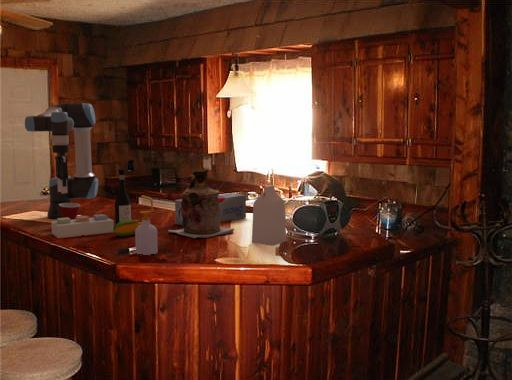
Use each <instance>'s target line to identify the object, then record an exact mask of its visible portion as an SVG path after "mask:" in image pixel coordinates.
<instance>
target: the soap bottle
mask: <svg viewBox="0 0 512 380" xmlns="http://www.w3.org/2000/svg"><path fill="white" fill-rule="evenodd" d="M140 197H141V198H143V199H146V200H149V201H150V210H141V211H139V213H140V214H142V215H141V216H143V217H142V218H141V222H142V224H141V225H140V226H138V227H137V228H136V230H135V235H134V236H135V254H136V253H137V254H136V255H138V254H143V255H148V256H152V255H151V254H154V255H157V253H158V252H159V251H158V247H159V246H158V229H157V227H156V226H155V225H153V224H151V218H149V215H150V214H151V213H152V212H153V211H154V200H153V198H152V197H151V196H147V195H143V194H142V195H141V196H140Z"/></svg>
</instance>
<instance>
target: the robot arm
mask: <svg viewBox="0 0 512 380" xmlns="http://www.w3.org/2000/svg"><path fill="white" fill-rule="evenodd" d="M95 124H96V114H95V109H94V107H93V105H92V104H91V103H84V102H80V103H79V102H76V103H74V102H72V103H71V102H69V103H68V102H65V103H64V102H63V103H58V104H54V105H52V106H49V107H48V108H46V109H45V111H43V112H42V113H39V114H38V115H27V116H26V117H25V119H24V128H25V130H26V131H27V132H33V133H35V132H51V137H50V140H51V141H52V143H51V144H52V149H51V150H52V153H53V154H56V156H55V157H54V159H55V177H52V178H51V179H50V180H49V181H48V182H49V184H48V185H49V186H48V188H49V206H48V207H49V208H48V211H47V219H50V220H51V219H52V220H57V218H62V214H61V209H60V206H59V204H61V203H73V202H72V199H75V200H76V199H81V200H82V199H87V200H88V199H95V197H97V194H98V191H99V179H98V178H97V177H96V175H95V173H94V172H93V168H92V166H93V165H92V142H91V130H92V129H93V126H94V125H95ZM71 130H73V134H74V135H73V136H74V152H75V170H76V171H75V174H73V177H71V175H69V172H68V171H69V170H68V168H69V167H68V157H67V156H66V154H68V153H69V152H70V146H69V144H70V140H69V139H70V138H69V136H70V135H69V132H70V131H71Z"/></svg>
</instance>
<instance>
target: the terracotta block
mask: <svg viewBox="0 0 512 380" xmlns="http://www.w3.org/2000/svg"><path fill="white" fill-rule="evenodd" d="M89 218H90V216H88V215H78V216H77V217H76V222H85V221H89Z"/></svg>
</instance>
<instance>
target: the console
mask: <svg viewBox="0 0 512 380" xmlns="http://www.w3.org/2000/svg"><path fill="white" fill-rule="evenodd" d="M114 221H115V219H114V220H113V219H111V218H109V217H107V220H99V221H96V220H94V217H89V221H85V222H76V219H73V220H71V223H68V224H58V223H57V220H53V221H51V222H50V223H51V224H50V225H51V234H52V235H53V236H54V237H55V238H57V239H64V238H73V237H81V236H82V235H84V236H91V235H100V234H110V233H114V229H113V228H114V226H115V223H114Z"/></svg>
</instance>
